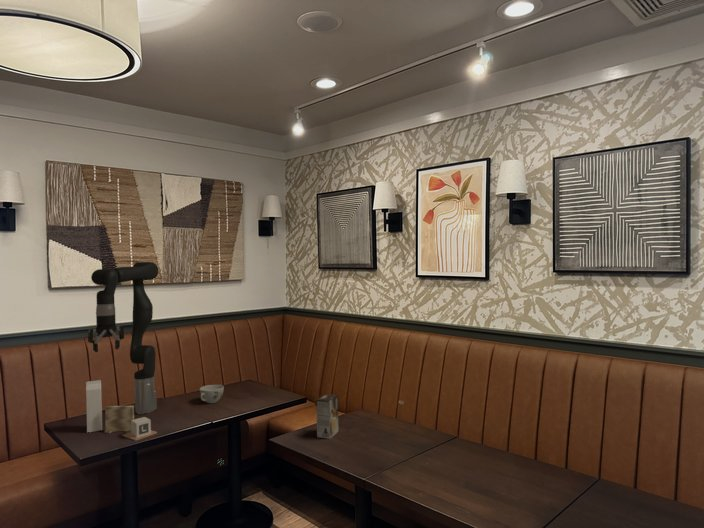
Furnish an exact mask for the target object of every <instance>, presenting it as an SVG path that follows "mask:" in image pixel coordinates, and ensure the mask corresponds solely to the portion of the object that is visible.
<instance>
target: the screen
mask: <svg viewBox="0 0 704 528" xmlns="http://www.w3.org/2000/svg"><path fill="white" fill-rule="evenodd" d="M104 411H105V413H104V415H105V417H104V418H105V422H104V423H105V430H104V434H111V433H118V432H117V431H125V432H124V434H127V433H130V432H131V420H134V419H135V405H106V406H105V407H104Z"/></svg>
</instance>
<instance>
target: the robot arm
mask: <svg viewBox="0 0 704 528" xmlns="http://www.w3.org/2000/svg"><path fill="white" fill-rule="evenodd" d="M158 275H159V267H158V265H157V264H156V263H155V262H151V261H138V262H135V263H134V264H133V266H121V267H114V268H113V267H112V268H102V269H101V268H99V269H98V268H97V269H95V270H94V271H93V272H92V274H91V277H90V278H91V281H92V283H93V284H94V285H97V286H104V288H103V290H99V291H97V293H96V309H95V311H96V312H95V315H96V316H95V317H96V320H95V322H96V324H95V325H96V327H95V328H88V331H87V332H88V334H87V342H88V343H90V344H92V351H94V352H95V353H98V352H99V345H98V342H99V341H100V340H102V338H106V337H109V338H111V337H112V338H114V349H115V350H119V348H120V347H121V344H120V342H121V340H123V339H125V330H124V326H123V325H122V324H121V325H118V326H117V325H116V321H117V320H116V307H115V293H116V288H117V285H118V284H119V283H125V282H129V281H130V282H131V281H132V287H133V288H132V291H133V292H132V295H133V297H132V298H133V299H132V300H133V302H132V329H131V331H132V332H131V333H132V334H131V341H130V346H129V347H130V350H129V359H130V362H131V363H132V364H136V365H137V364H138V365H140V364H141V365H143V366H142V368H141V369H139V370H136V371H135V372H134V374H133V376H134V377H133V385H134V386H133V387H134V389H133V390H134V414H136V413H137V415H146V414H150V413H153V412H154V410H155V411H156V409H157V408H158V405H157V404H158V403H157V401H158V400H157V390H155V370H156V356H157V355H156V348H155V347H154V346H153V345H149V344H145V345H144V344H143V337H144V335H145V332H146V330H147V329H148V328H149V326H150V325H151V322H152V320H153V311H154V310H153V309H154V308H153V304H152V302H151V301H152V300H151V299H150V297H149V296H148V295H147V292H146V291H145V290H146V289H145V285H144V281H152V280H154V279H156V278H157V277H158ZM116 331H118V334H117V333H116ZM95 332H96V336H95V337H94V334H95ZM118 335H119V336H118ZM145 413H146V414H145Z"/></svg>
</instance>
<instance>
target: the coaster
mask: <svg viewBox="0 0 704 528" xmlns="http://www.w3.org/2000/svg"><path fill="white" fill-rule="evenodd" d="M156 434H158V432H157V431H155V430H152V429H151V434H148V435H144V436H141V437H135V436H133V435H132V434H131V432H130V433H124V434H122V435H121V437H123V436H124V438H126V439H129V440H132V441H134V442H137V441H139V440H142V439H145V438H147V437H151V436H154V435H156Z"/></svg>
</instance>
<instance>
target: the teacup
mask: <svg viewBox="0 0 704 528" xmlns="http://www.w3.org/2000/svg"><path fill="white" fill-rule="evenodd" d="M224 388H225V385H223V384H209V385H208V384H206V385H204V386H202V387H200V388H199V394H200V400H201V401H203V402H206V403H207V404H216V403H218V402H219V401H220V399H222V397H223V394H224V390H225V389H224Z"/></svg>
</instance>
